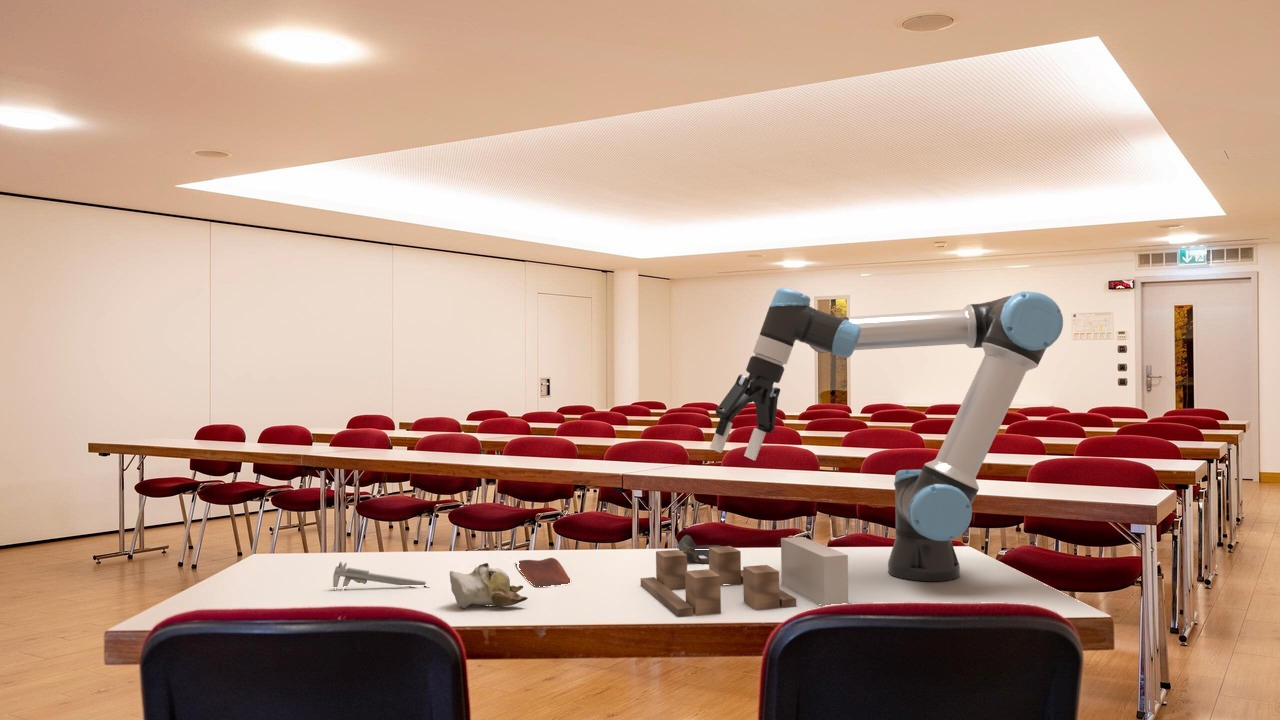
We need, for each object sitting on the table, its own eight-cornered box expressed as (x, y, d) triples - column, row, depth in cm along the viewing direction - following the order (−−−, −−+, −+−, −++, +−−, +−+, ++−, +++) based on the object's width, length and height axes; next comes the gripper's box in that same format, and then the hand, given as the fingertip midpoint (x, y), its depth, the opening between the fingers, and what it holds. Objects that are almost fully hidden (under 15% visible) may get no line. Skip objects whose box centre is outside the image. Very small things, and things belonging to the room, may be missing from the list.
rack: (745, 576, 203) (745, 545, 203) (796, 606, 178) (795, 569, 178) (640, 585, 197) (640, 552, 197) (677, 616, 172) (677, 579, 172)
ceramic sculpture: (449, 557, 186) (524, 557, 189) (447, 600, 186) (522, 599, 189) (450, 569, 175) (529, 569, 179) (448, 615, 175) (527, 614, 178)
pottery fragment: (731, 565, 217) (731, 546, 217) (681, 565, 216) (681, 547, 216) (722, 551, 232) (722, 534, 232) (675, 552, 231) (675, 535, 231)
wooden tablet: (513, 565, 221) (513, 558, 221) (555, 562, 223) (555, 555, 223) (528, 591, 195) (528, 583, 195) (575, 587, 198) (575, 579, 198)
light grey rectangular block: (803, 583, 197) (802, 536, 197) (848, 606, 178) (847, 555, 178) (781, 585, 196) (780, 538, 196) (824, 609, 176) (823, 556, 176)
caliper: (333, 592, 196) (332, 562, 196) (334, 590, 197) (334, 561, 197) (431, 588, 197) (430, 559, 197) (431, 587, 199) (431, 558, 199)
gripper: (783, 366, 206) (749, 455, 207) (723, 342, 187) (686, 440, 188) (811, 376, 201) (776, 467, 202) (752, 353, 182) (714, 453, 183)
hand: (733, 454), depth 195 cm, fingers open, 13 cm apart
